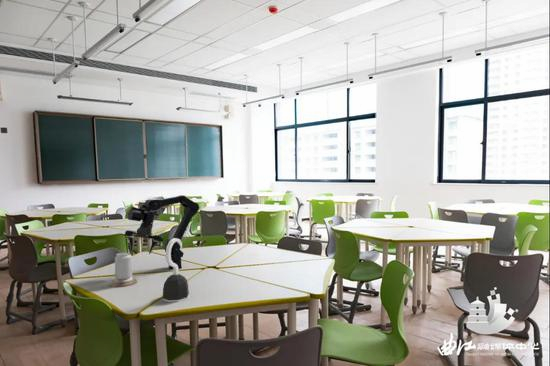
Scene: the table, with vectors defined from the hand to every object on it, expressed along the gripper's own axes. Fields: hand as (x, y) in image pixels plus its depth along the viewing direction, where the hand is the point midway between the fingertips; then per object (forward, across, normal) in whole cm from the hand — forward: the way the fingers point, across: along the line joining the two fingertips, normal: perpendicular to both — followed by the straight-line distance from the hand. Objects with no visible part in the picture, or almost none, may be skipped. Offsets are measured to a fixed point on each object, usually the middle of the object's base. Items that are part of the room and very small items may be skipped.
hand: (140, 252), depth 184 cm
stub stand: (+14, -2, -12) cm, 19 cm away
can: (+12, -2, -12) cm, 18 cm away
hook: (+13, +27, -36) cm, 47 cm away
